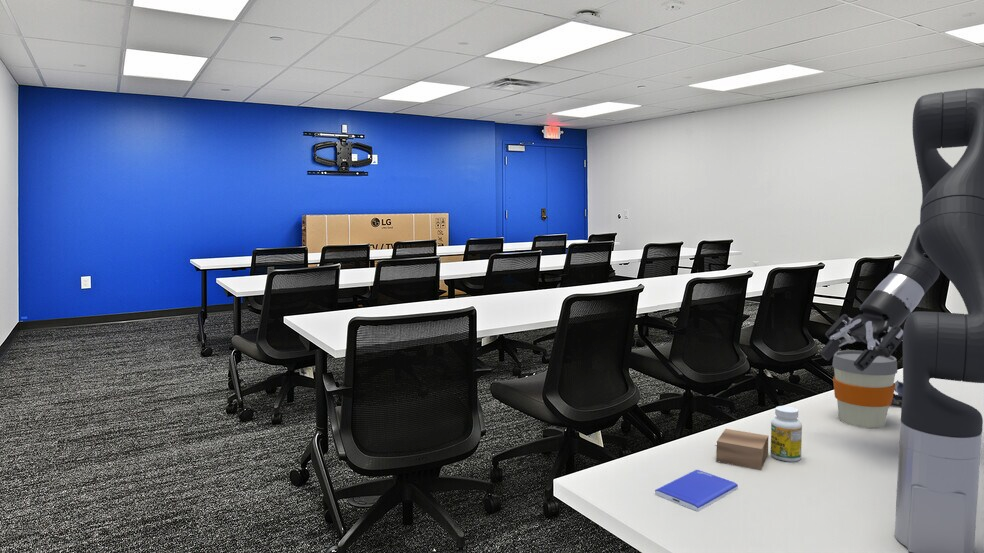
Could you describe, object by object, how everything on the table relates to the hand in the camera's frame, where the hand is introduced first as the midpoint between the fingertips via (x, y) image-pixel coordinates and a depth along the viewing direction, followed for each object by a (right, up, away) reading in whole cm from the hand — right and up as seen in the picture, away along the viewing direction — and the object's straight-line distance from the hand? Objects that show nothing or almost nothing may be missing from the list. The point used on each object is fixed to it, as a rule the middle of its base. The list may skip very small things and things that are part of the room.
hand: (840, 362), depth 121 cm
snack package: (+33, -15, +31) cm, 48 cm away
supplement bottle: (-11, -18, -1) cm, 22 cm away
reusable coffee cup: (+15, -16, +19) cm, 29 cm away
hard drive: (-33, -21, -15) cm, 42 cm away
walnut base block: (-20, -18, -1) cm, 27 cm away
